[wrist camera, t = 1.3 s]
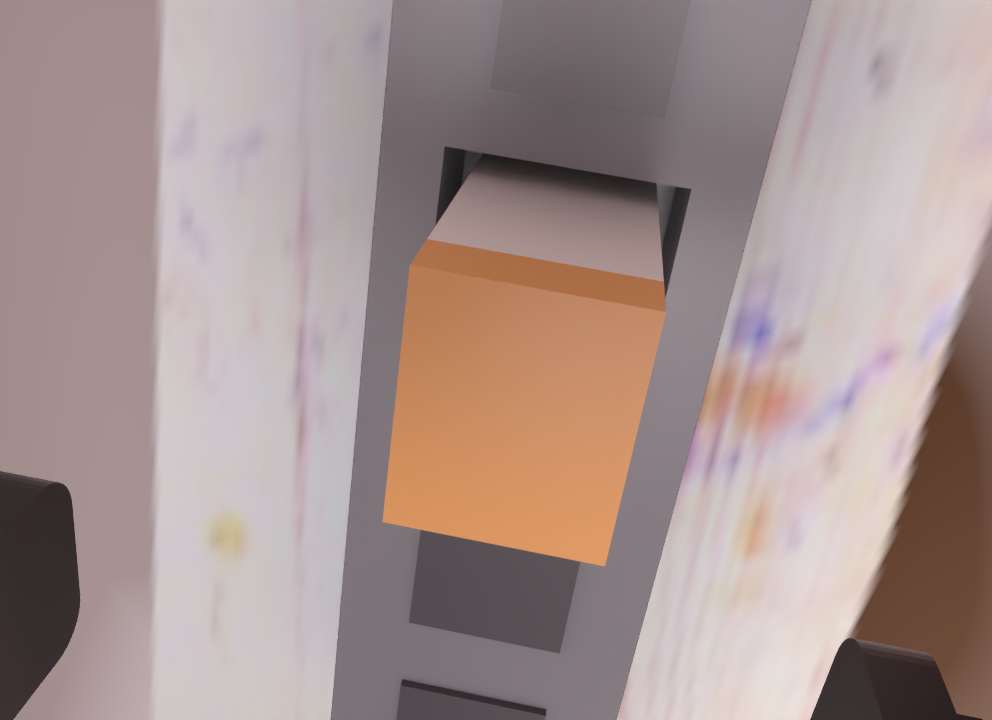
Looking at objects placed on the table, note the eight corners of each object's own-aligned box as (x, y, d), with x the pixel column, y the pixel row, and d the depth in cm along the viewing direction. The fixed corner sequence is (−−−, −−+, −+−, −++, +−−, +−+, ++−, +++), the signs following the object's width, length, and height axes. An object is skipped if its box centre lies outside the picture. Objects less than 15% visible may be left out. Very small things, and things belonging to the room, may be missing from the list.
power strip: (588, 729, 28) (580, 874, 24) (363, 681, 29) (315, 816, 24) (790, -61, 19) (836, -55, 14) (447, -115, 19) (392, -125, 15)
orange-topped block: (615, 355, 22) (605, 566, 15) (464, 327, 22) (382, 522, 15) (655, 171, 20) (666, 311, 13) (489, 143, 20) (409, 265, 13)
